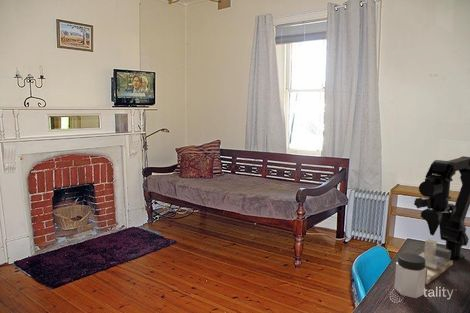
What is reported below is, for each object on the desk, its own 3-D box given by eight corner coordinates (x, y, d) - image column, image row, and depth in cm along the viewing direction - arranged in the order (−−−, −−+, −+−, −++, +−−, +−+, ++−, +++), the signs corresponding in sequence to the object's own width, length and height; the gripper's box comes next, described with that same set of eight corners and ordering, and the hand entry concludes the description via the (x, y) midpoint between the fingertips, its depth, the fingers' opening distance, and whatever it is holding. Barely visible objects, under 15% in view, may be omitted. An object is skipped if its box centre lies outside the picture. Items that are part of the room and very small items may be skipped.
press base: (425, 256, 148) (426, 243, 147) (452, 264, 140) (453, 251, 139) (398, 273, 132) (400, 259, 131) (427, 284, 125) (428, 269, 124)
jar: (413, 301, 114) (416, 265, 112) (389, 290, 121) (392, 256, 119) (428, 293, 119) (431, 259, 117) (405, 282, 126) (407, 250, 124)
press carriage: (422, 256, 143) (424, 235, 142) (444, 263, 137) (446, 241, 136) (413, 262, 138) (415, 240, 136) (436, 269, 132) (438, 246, 130)
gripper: (428, 186, 149) (425, 222, 151) (408, 193, 137) (405, 232, 139) (458, 191, 140) (454, 229, 143) (439, 199, 128) (435, 240, 131)
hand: (436, 232), depth 139 cm, fingers open, 9 cm apart
